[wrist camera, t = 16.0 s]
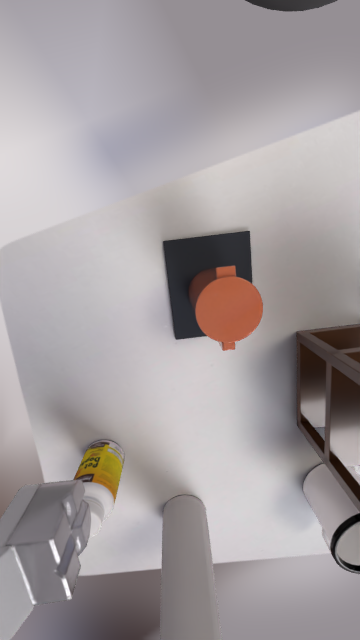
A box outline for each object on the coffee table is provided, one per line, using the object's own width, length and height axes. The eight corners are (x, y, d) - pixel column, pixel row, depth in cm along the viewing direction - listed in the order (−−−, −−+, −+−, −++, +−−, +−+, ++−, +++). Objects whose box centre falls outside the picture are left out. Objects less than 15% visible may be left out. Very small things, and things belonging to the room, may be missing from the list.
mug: (308, 453, 40) (347, 510, 31) (369, 460, 40) (423, 519, 32) (286, 517, 43) (316, 586, 34) (343, 523, 43) (387, 592, 35)
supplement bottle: (108, 430, 38) (85, 495, 28) (133, 457, 39) (119, 528, 29) (77, 451, 38) (44, 521, 29) (102, 477, 40) (79, 552, 30)
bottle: (185, 535, 43) (209, 1024, 16) (154, 514, 42) (121, 1006, 15) (214, 510, 42) (294, 989, 15) (183, 487, 41) (207, 966, 13)
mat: (163, 241, 32) (163, 241, 31) (248, 231, 32) (249, 230, 31) (175, 338, 35) (175, 339, 34) (253, 329, 35) (254, 330, 34)
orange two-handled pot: (185, 264, 32) (191, 270, 22) (234, 258, 32) (261, 262, 22) (192, 328, 34) (200, 360, 24) (238, 323, 34) (264, 352, 24)
